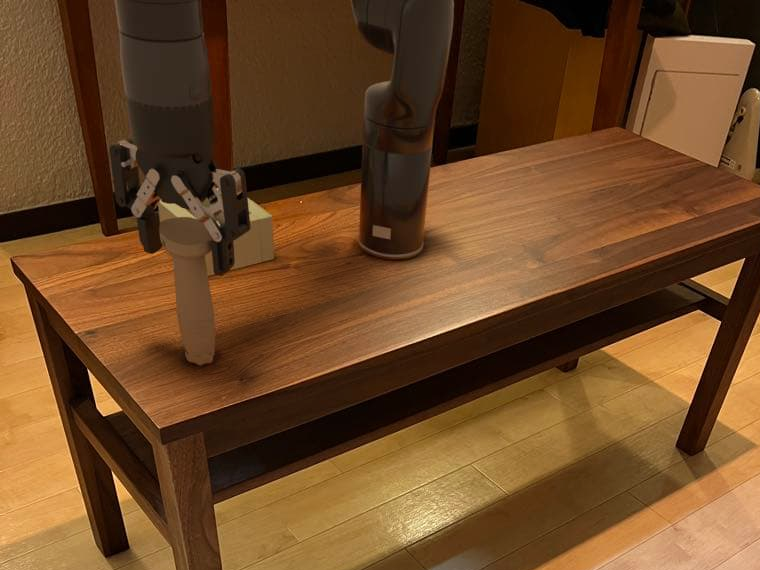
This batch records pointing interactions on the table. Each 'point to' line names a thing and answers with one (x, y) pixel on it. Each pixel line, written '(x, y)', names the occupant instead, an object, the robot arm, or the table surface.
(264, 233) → the frame
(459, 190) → the table surface
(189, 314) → the handle
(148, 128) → the robot arm
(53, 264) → the table surface
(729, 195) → the table surface
